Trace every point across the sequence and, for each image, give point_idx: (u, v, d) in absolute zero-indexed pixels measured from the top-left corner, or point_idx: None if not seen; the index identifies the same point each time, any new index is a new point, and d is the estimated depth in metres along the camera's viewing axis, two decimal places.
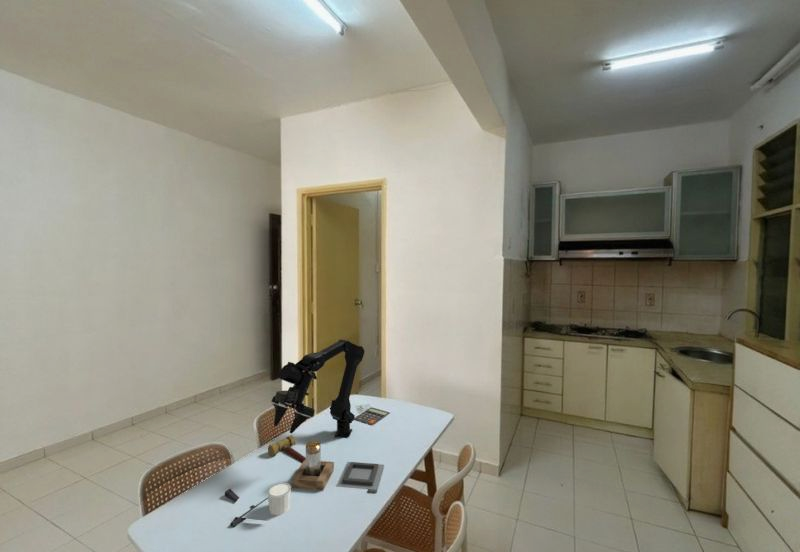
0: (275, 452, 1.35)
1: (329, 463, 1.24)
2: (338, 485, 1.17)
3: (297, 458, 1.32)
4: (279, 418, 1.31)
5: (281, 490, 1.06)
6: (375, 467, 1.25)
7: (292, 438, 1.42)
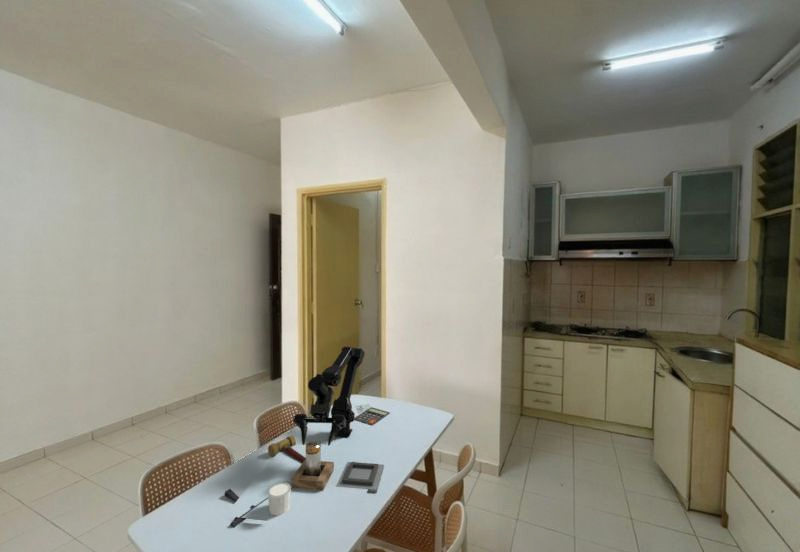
0: (275, 452, 1.35)
1: (329, 463, 1.24)
2: (338, 485, 1.17)
3: (297, 458, 1.31)
4: (305, 436, 1.26)
5: (281, 490, 1.06)
6: (375, 467, 1.25)
7: (292, 438, 1.42)
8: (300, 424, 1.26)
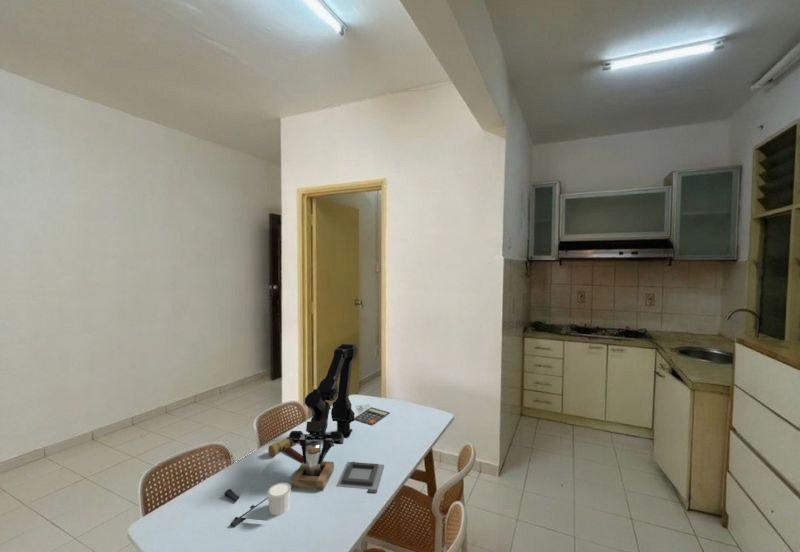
0: (276, 452, 1.35)
1: (329, 463, 1.24)
2: (338, 485, 1.17)
3: (298, 459, 1.31)
4: None
5: (281, 490, 1.06)
6: (375, 467, 1.25)
7: None
8: (301, 442, 1.21)
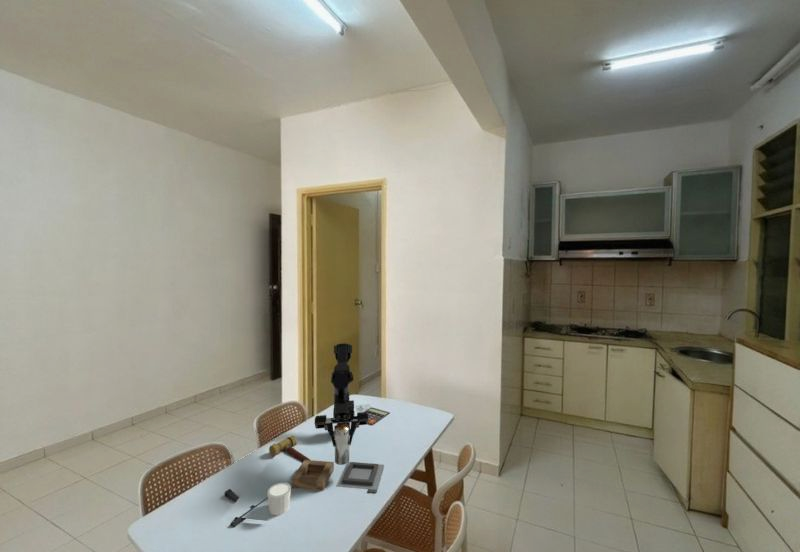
0: (277, 453, 1.35)
1: (329, 463, 1.24)
2: (338, 485, 1.17)
3: (299, 458, 1.31)
4: None
5: (281, 490, 1.06)
6: (375, 467, 1.25)
7: (293, 438, 1.42)
8: (328, 425, 1.20)
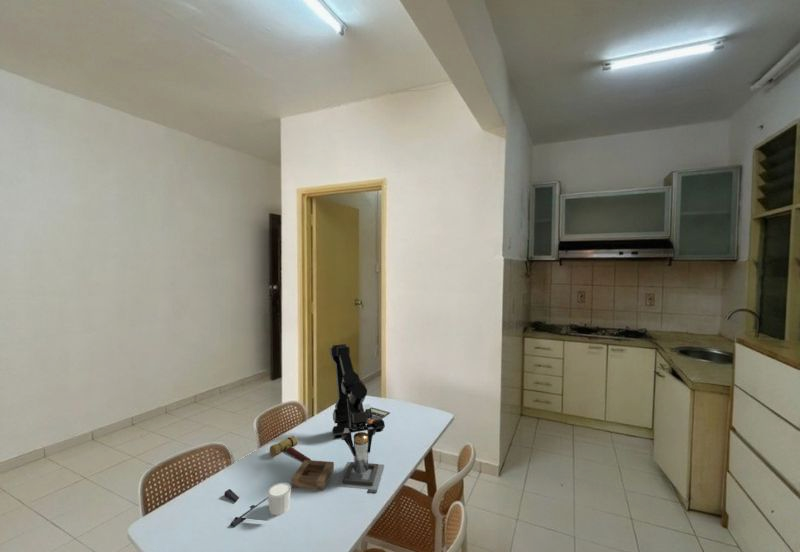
0: (277, 453, 1.35)
1: (329, 463, 1.24)
2: (338, 485, 1.17)
3: (300, 458, 1.32)
4: None
5: (281, 490, 1.06)
6: (375, 467, 1.25)
7: (294, 439, 1.42)
8: (347, 435, 1.22)
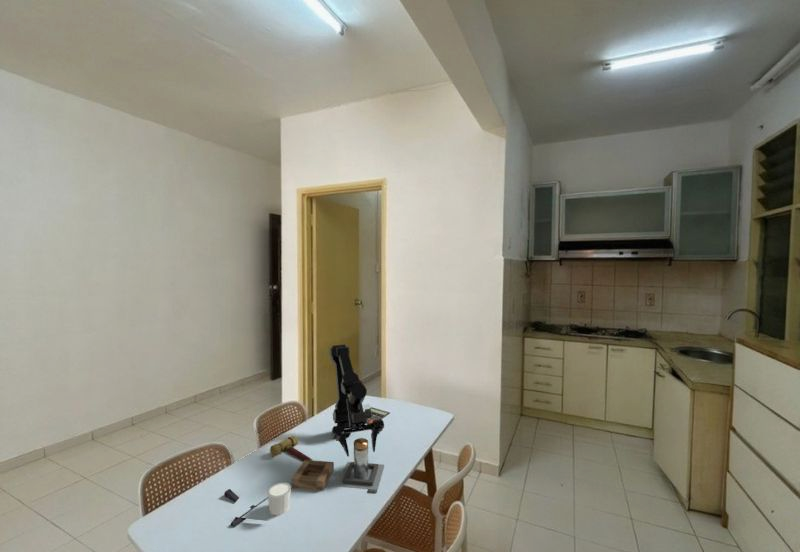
0: (278, 453, 1.35)
1: (329, 463, 1.24)
2: (338, 485, 1.17)
3: (300, 458, 1.32)
4: None
5: (281, 490, 1.06)
6: (375, 467, 1.25)
7: (294, 438, 1.42)
8: (341, 436, 1.22)
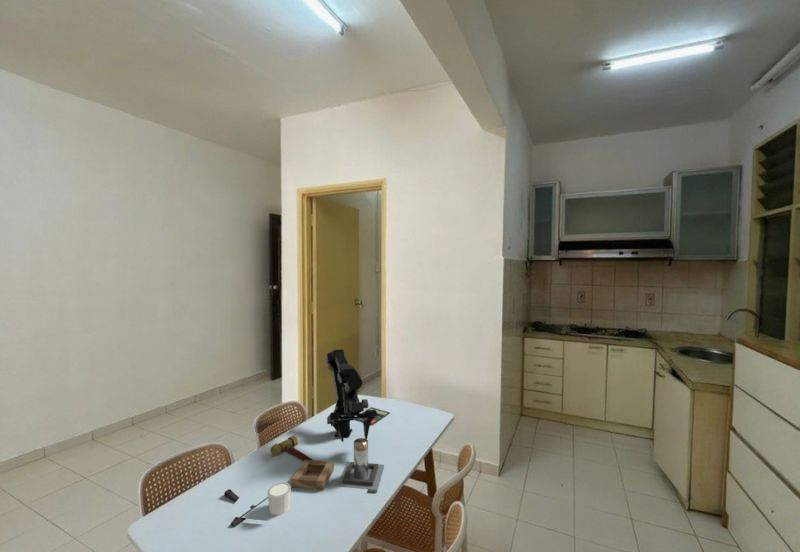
0: (278, 453, 1.35)
1: (329, 463, 1.24)
2: (338, 485, 1.17)
3: (301, 458, 1.32)
4: None
5: (281, 490, 1.06)
6: (375, 467, 1.25)
7: (294, 438, 1.42)
8: (338, 422, 1.29)
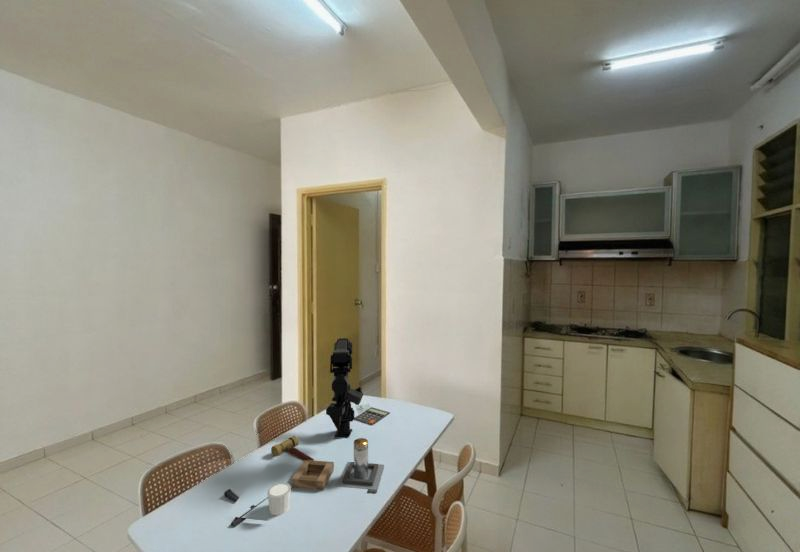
0: (279, 453, 1.35)
1: (329, 463, 1.24)
2: (338, 485, 1.17)
3: (302, 458, 1.32)
4: None
5: (281, 490, 1.06)
6: (375, 467, 1.25)
7: (295, 439, 1.42)
8: (342, 414, 1.29)
